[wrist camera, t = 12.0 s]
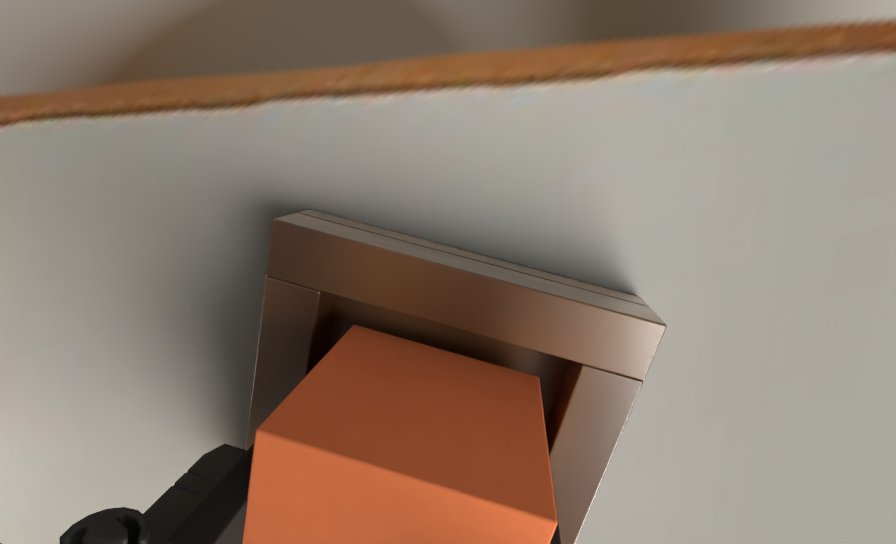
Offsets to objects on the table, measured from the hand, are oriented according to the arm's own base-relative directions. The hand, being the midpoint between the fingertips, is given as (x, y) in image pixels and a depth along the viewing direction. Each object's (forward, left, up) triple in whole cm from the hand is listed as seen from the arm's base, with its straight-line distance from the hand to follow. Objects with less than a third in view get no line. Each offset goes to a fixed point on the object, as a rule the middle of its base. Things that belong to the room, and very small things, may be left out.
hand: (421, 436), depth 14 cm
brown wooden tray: (0, 0, -2) cm, 2 cm away
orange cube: (0, 0, 0) cm, 0 cm away
